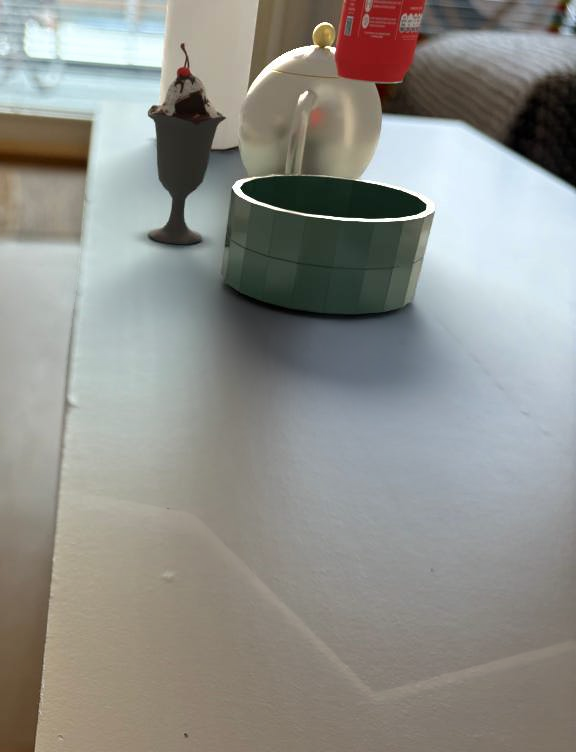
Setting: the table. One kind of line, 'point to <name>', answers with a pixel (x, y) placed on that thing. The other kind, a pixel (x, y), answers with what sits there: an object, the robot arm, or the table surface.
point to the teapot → (309, 116)
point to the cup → (212, 55)
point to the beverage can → (377, 39)
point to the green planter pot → (325, 242)
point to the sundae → (183, 148)
